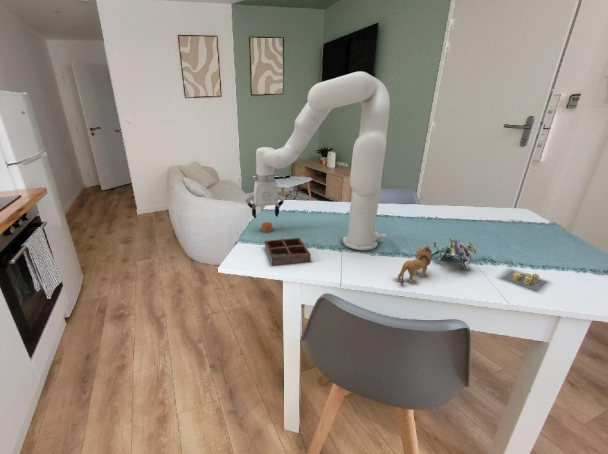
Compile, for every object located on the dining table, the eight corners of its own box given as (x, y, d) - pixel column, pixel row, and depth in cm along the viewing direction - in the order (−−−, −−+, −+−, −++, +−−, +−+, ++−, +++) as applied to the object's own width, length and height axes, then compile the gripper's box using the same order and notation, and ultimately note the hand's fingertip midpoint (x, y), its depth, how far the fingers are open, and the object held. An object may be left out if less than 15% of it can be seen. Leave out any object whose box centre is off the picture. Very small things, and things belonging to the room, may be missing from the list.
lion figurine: (414, 265, 97) (419, 241, 93) (431, 272, 93) (437, 246, 89) (392, 283, 88) (397, 257, 85) (411, 290, 84) (416, 263, 81)
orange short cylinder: (270, 227, 132) (270, 221, 131) (272, 231, 128) (272, 225, 127) (261, 228, 131) (261, 222, 130) (262, 232, 127) (262, 226, 126)
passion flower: (460, 282, 96) (479, 268, 86) (424, 271, 99) (438, 256, 89) (463, 253, 101) (482, 237, 90) (429, 243, 104) (443, 226, 94)
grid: (299, 244, 115) (299, 237, 114) (310, 261, 102) (310, 254, 101) (264, 248, 114) (264, 240, 112) (271, 265, 101) (271, 257, 100)
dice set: (538, 280, 86) (540, 275, 85) (531, 286, 83) (534, 281, 83) (516, 273, 90) (518, 268, 89) (510, 279, 87) (511, 273, 87)
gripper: (245, 181, 116) (247, 221, 123) (287, 179, 118) (286, 218, 125) (243, 177, 123) (245, 214, 130) (283, 174, 125) (282, 212, 131)
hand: (265, 216), depth 127 cm, fingers open, 9 cm apart
